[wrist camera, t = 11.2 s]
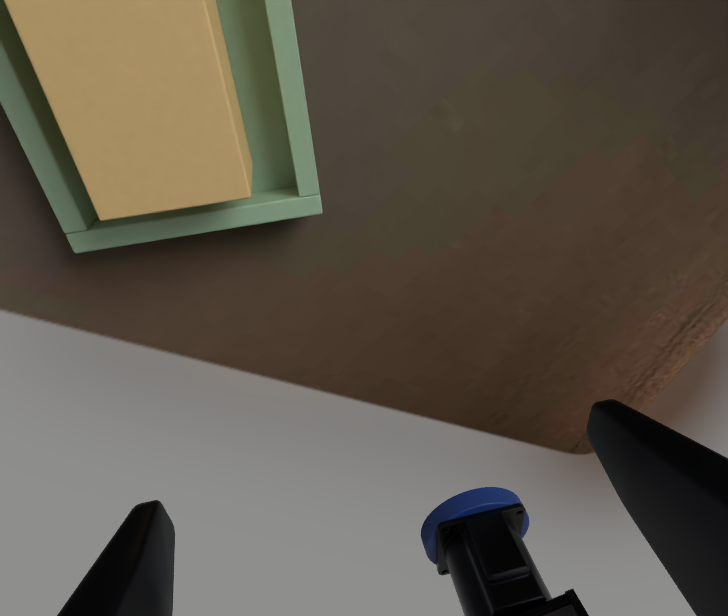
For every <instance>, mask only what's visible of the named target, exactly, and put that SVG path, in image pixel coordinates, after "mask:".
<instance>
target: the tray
mask: <svg viewBox="0 0 728 616" xmlns="http://www.w3.org/2000/svg"><path fill="white" fill-rule="evenodd" d="M216 3H217V7H218V12H219V16H220V21H221V25H222V30H223V34H224V39H225V43H226V47H227V52H228V56H229V61H230V65H231V70H232V74H233V79H234V83H235V87H236V92H237V96H238V101H239V105H240V110H241V114H242V119H243V123H244V127H245V132H246V136H247V141H248V145H249V150H250V154H251V158H252V191H251V197H250V198H247V199H241V200H235V201H228V202H222V203H215V204H209V205H202V206H196V207H189V208H183V209H177V210H170V211H164V212H157V213H151V214H144V215H138V216H131V217H125V218H119V219H112V220H106V221H100V219H99V217H98V215H97V213H96V211H95V208H94V206H93V204H92V201H91V199H90V197H89V195H88V192H87V190H86V188H85V185H84V183H83V181H82V178H81V176H80V174H79V172H78V169H77V167H76V165H75V162H74V160H73V158H72V156H71V153H70V151H69V149H68V146H67V144H66V142H65V139H64V137H63V135H62V133H61V130H60V128H59V126H58V123H57V121H56V119H55V117H54V114H53V112H52V110H51V107H50V105H49V103H48V100H47V98H46V96H45V94H44V91H43V89H42V87H41V84H40V82H39V80H38V78H37V75H36V73H35V71H34V68H33V66H32V64H31V62H30V59H29V57H28V55H27V52H26V50H25V48H24V45H23V43H22V41H21V39H20V36H19V34H18V32H17V29H16V27H15V25H14V23H13V20H12V18H11V16H10V13H9V11H8V9H7V6H6V4H5V2H4V0H0V103H1V105H2V107H3V109H4V111H5V113H6V115H7V117H8V119H9V121H10V123H11V125H12V127H13V129H14V131H15V133H16V135H17V137H18V139H19V142H20V144H21V146H22V148H23V150H24V152H25V154H26V156H27V158H28V160H29V162H30V164H31V166H32V168H33V170H34V172H35V174H36V176H37V178H38V180H39V182H40V184H41V186H42V189H43V191H44V193H45V195H46V197H47V199H48V201H49V203H50V205H51V207H52V209H53V211H54V213H55V215H56V217H57V219H58V221H59V223H60V225H61V227H62V229H63V231H64V233H67V234H66V237H67V239H68V241H69V243H70V245H71V247H72V249H73V251H74V253H82V252H88V251H94V250H100V249H106V248H113V247H119V246H125V245H131V244H137V243H144V242H150V241H156V240H162V239H168V238H174V237H181V236H187V235H193V234H199V233H205V232H212V231H218V230H224V229H230V228H236V227H243V226H249V225H255V224H261V223H267V222H273V221H280V220H286V219H292V218H298V217H304V216H311V215H317V214H321V213H322V212H323V211H322V204H321V197H320V190H319V183H318V177H317V170H316V163H315V157H314V150H313V143H312V137H311V130H310V123H309V117H308V110H307V104H306V97H305V90H304V84H303V77H302V70H301V64H300V57H299V50H298V44H297V37H296V30H295V24H294V17H293V10H292V4H291V0H216Z"/></svg>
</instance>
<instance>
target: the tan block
mask: <svg viewBox="0 0 728 616" xmlns="http://www.w3.org/2000/svg"><path fill="white" fill-rule="evenodd" d="M4 2H5V4H6V6H7V9H8V11H9V13H10V16H11V18H12V20H13V23H14V25H15V27H16V29H17V32H18V34H19V36H20V39H21V41H22V43H23V45H24V48H25V50H26V52H27V55H28V57H29V59H30V62H31V64H32V66H33V68H34V71H35V73H36V75H37V78H38V80H39V82H40V84H41V87H42V89H43V91H44V94H45V96H46V98H47V100H48V103H49V105H50V107H51V110H52V112H53V114H54V117H55V119H56V121H57V123H58V126H59V128H60V130H61V133H62V135H63V137H64V139H65V142H66V144H67V146H68V149H69V151H70V153H71V156H72V158H73V160H74V162H75V165H76V167H77V169H78V172H79V174H80V176H81V178H82V181H83V183H84V185H85V188H86V190H87V192H88V195H89V197H90V199H91V201H92V204H93V206H94V208H95V211H96V213H97V215H98V217H99V219H100V221H106V220H112V219H119V218H125V217H131V216H138V215H144V214H151V213H157V212H164V211H170V210H177V209H183V208H189V207H196V206H202V205H209V204H215V203H222V202H228V201H235V200H241V199H247V198H250V197H251V191H252V158H251V154H250V150H249V145H248V141H247V136H246V132H245V127H244V123H243V119H242V114H241V110H240V105H239V101H238V96H237V92H236V87H235V83H234V79H233V74H232V70H231V65H230V61H229V56H228V52H227V47H226V43H225V39H224V34H223V30H222V25H221V21H220V16H219V12H218V7H217V3H216V0H4Z"/></svg>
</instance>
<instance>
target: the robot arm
mask: <svg viewBox="0 0 728 616" xmlns="http://www.w3.org/2000/svg"><path fill="white" fill-rule="evenodd" d="M587 436H588V439H589V441H590V443H591V445H592V447H593V449H594V450H595V452H596V454H597V456H598V458H599V460H600V461H601V463H602V466H603V467H604V469H605V471H606V473H607V475H608V477H609V479H610V481H611V483H612V484H613V486H614V488H615V490H616V492H617V494H618V496H619V497H620V499H621V501H622V503H623V504H624V506H625V507H626V509H627V511H628V512H629V514H630V516H631V517H632V519H633V520H634V522H635V523H636V525H637V526H638V528H639V529H640V531H641V532H642V534H643V535H644V537H645V538H646V540H647V541H648V543H649V544H650V546H651V547H652V549H653V550H654V552H655V553H656V555H657V557H658V558H659V560H660V561H661V563H662V564H663V566H664V567H665V569H666V570H667V571H668V573H669V574H670V576H671V578H672V579H673V581H674V582H675V584H676V585H677V587H678V588H679V590H680V591H681V593H682V594H683V596H684V597H685V599H686V600H687V602H688V603H689V605H690V606H691V608H692V609H693V611H694V612H695V614H696V615H697V616H728V458H726V457H724V456H722V455H720V454H719V453H717V452H715V451H713V450H711V449H709V448H707V447H705V446H703V445H701V444H699V443H697V442H695V441H694V440H692V439H690V438H688V437H686V436H684V435H682V434H680V433H678V432H676V431H674V430H672V429H670V428H669V427H667V426H664V425H662V424H661V423H659V422H657V421H655V420H653V419H651V418H649V417H647V416H646V415H644V414H642V413H640V412H638V411H636V410H634V409H632V408H630V407H628V406H626V405H624V404H622V403H621V402H619V401H616V400H613V399H609V400H604V401H600V402H596V403H595V404H594V405H593V406H592V409H591V413H590V417H589V421H588V425H587ZM525 512H526V510H525V508H524V506H523V504H522V503H516V504H512V505H508V506H504V507H500V508H496V509H492V510H488V511H484V512H480V513H475V514H471V515H467V516H463V517H459V518H455V519H451V520H447V521H443V522H440V523H439V524H438V525H437V526H436V549H437V570H438V573H439V574H440V575H446V574H451V577H452V580H453V583H454V586H455V589H456V592H457V595H458V598H459V601H460V603H461V606H462V609H463V612H464V615H465V616H589V615H588V614H587V612H586V610H585V608H584V607H583V605H582V603H581V602H580V600H579V598H578V597H577V595H576V593H575V592H574V590H573V589H570V590H568V591H566V592H565V594H563V595H561V596H558V597H556V598H553V599H552V597H551V595H550V593H549V591H548V589H547V587H546V586H545V584H544V582H543V580H542V578H541V576H540V574H539V572H538V570H537V568H536V566H535V564H534V562H533V560H532V558H531V556H530V554H529V552H528V550H527V548H526V546H525V544H524V542H523V540H522V538H521V536H522V530H523V524H524V518H525ZM174 547H175V531H174V526H173V523H172V521H171V519H170V518H169V516H168V514H167V512H166V510H165V509H164V507H163V505H162V504H161V502H160V501H158V500H154V501H150V502H145V503H141V504H138V505H136V506H135V507H134V508H133V509H132V511H131V512H130V514H129V515H128V516H127V518H126V519H125V521H124V522H123V523H122V525H121V526H120V528H119V529H118V530H117V532H116V533H115V535H114V536H113V538H112V539H111V540H110V542H109V543H108V545H107V546H106V547H105V549H104V550H103V552H102V553H101V554H100V556H99V558H98V559H97V560H96V562H95V563H94V564H93V566H92V567H91V569H90V570H89V571H88V573H87V574H86V576H85V577H84V578H83V580H82V581H81V583H80V584H79V586H78V587H77V588H76V590H75V591H74V593H73V594H72V595H71V597H70V598H69V600H68V601H67V603H66V604H65V605H64V607H63V608H62V610H61V611H60V613H59V614H58V615H57V616H172V610H173V581H174Z"/></svg>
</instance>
